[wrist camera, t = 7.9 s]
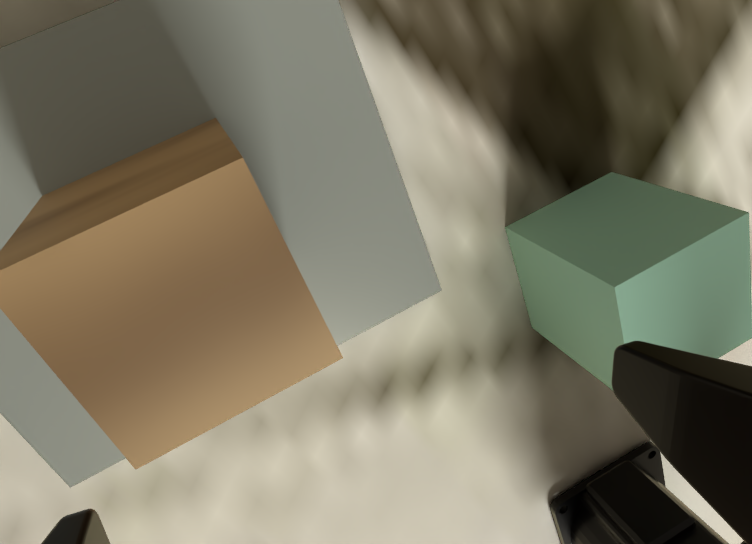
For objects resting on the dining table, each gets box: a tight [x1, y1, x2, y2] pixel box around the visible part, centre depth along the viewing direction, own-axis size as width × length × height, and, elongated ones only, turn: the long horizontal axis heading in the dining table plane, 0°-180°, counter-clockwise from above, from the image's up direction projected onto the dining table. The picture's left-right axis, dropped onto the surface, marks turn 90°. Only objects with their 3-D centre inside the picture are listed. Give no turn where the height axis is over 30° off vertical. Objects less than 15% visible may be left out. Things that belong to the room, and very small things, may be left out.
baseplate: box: [0, 0, 442, 487], centre depth 17 cm, size 12×14×1 cm
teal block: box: [505, 172, 752, 390], centre depth 20 cm, size 5×5×6 cm
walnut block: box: [0, 118, 343, 469], centre depth 14 cm, size 5×5×6 cm
